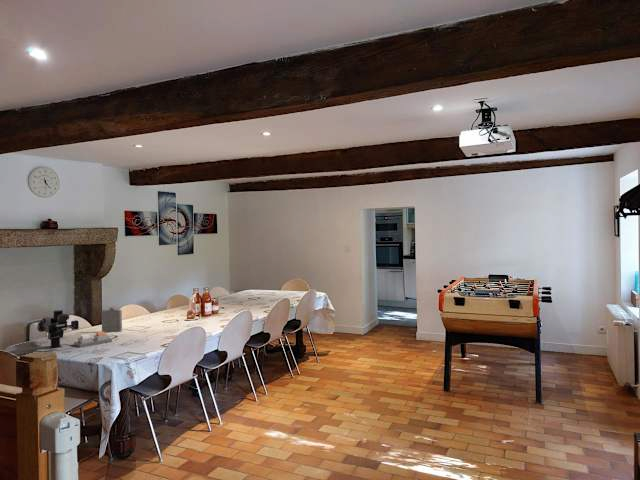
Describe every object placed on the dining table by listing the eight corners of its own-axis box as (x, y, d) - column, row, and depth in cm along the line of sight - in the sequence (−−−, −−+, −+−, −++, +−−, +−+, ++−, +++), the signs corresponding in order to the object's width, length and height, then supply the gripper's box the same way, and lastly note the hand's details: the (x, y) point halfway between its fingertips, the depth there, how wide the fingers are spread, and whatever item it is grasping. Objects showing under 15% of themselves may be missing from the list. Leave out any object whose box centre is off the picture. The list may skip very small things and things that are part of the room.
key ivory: (80, 339, 324) (80, 335, 324) (87, 338, 328) (87, 334, 328) (82, 340, 321) (82, 336, 320) (90, 339, 324) (90, 335, 324)
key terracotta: (96, 336, 332) (96, 332, 332) (103, 335, 336) (103, 331, 336) (98, 337, 329) (98, 333, 329) (105, 336, 332) (105, 332, 332)
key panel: (74, 344, 324) (74, 337, 324) (105, 339, 340) (105, 332, 340) (80, 347, 316) (80, 340, 316) (112, 341, 332) (111, 335, 332)
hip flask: (101, 332, 365) (100, 307, 365) (103, 331, 369) (102, 307, 369) (121, 331, 366) (120, 307, 366) (123, 330, 370) (122, 306, 370)
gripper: (44, 315, 305) (52, 318, 294) (73, 312, 319) (82, 314, 308) (44, 332, 305) (52, 335, 295) (74, 327, 319) (82, 330, 308)
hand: (67, 328), depth 301 cm, fingers open, 9 cm apart
